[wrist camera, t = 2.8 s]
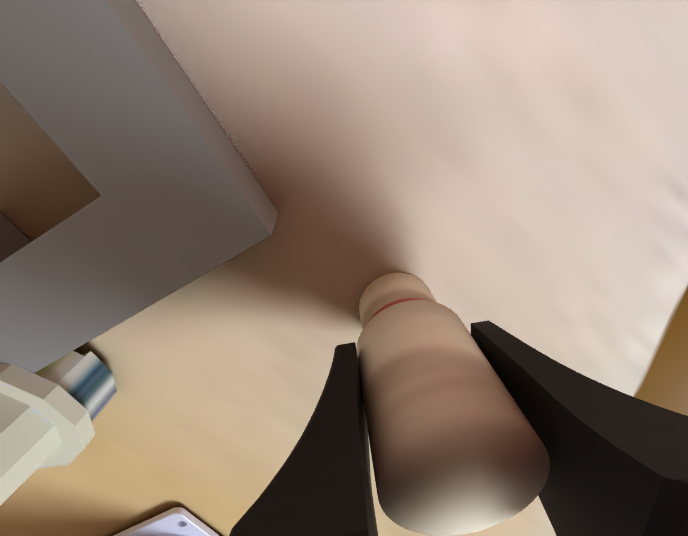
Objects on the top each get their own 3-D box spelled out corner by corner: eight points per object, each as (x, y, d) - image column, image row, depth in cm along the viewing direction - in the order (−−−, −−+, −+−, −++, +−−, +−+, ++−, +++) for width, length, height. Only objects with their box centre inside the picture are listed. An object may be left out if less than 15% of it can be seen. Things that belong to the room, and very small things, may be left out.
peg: (454, 318, 16) (568, 497, 9) (375, 356, 16) (420, 553, 9) (417, 246, 14) (520, 392, 7) (332, 292, 15) (345, 469, 8)
